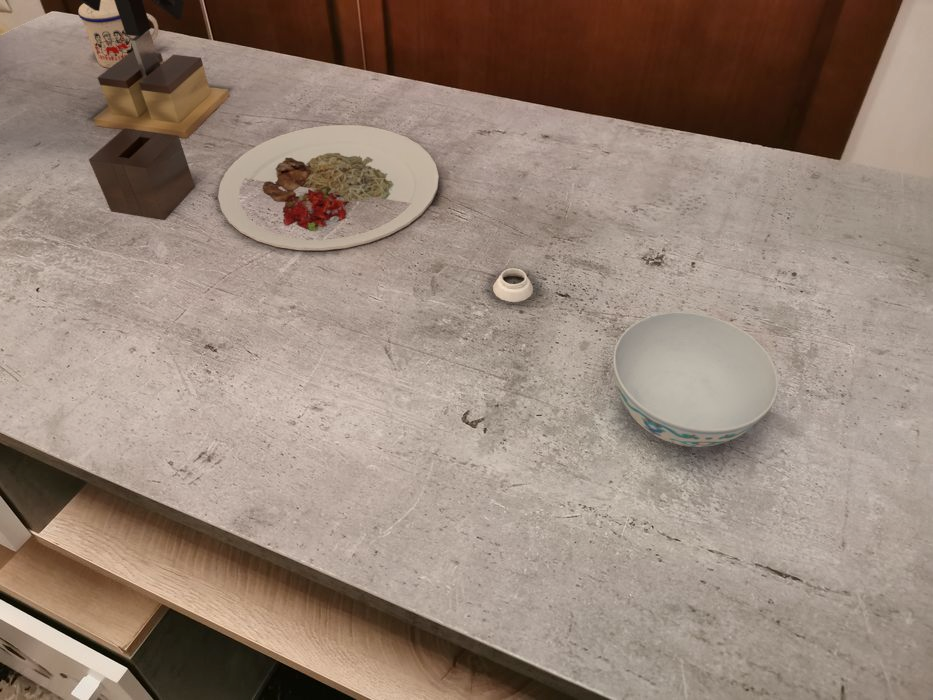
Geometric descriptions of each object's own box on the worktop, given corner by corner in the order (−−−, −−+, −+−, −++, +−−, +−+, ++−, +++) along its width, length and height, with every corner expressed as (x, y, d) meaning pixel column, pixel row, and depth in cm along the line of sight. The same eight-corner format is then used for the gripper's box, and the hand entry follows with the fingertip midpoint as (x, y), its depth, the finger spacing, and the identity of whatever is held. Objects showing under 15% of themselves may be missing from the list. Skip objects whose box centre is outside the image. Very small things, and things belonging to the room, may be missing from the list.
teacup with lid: (95, 72, 127) (68, 3, 119) (98, 51, 133) (73, -16, 125) (166, 64, 129) (145, -5, 121) (166, 43, 135) (146, -24, 127)
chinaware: (621, 348, 80) (632, 296, 74) (762, 385, 76) (785, 333, 71) (586, 452, 70) (596, 401, 65) (745, 501, 67) (770, 451, 61)
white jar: (491, 281, 88) (491, 309, 85) (491, 262, 86) (492, 290, 82) (532, 281, 88) (534, 310, 84) (534, 262, 86) (536, 290, 82)
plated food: (414, 124, 114) (412, 104, 112) (462, 237, 94) (462, 216, 92) (218, 152, 109) (212, 131, 106) (225, 278, 89) (218, 256, 86)
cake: (95, 125, 114) (77, 82, 109) (144, 85, 124) (129, 43, 119) (186, 138, 112) (172, 94, 106) (229, 96, 121) (218, 53, 116)
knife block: (113, 218, 97) (88, 159, 91) (146, 185, 103) (124, 127, 96) (167, 227, 96) (145, 168, 89) (197, 193, 101) (178, 135, 95)
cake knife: (149, 108, 116) (104, -21, 102) (162, 97, 118) (120, -31, 104) (162, 110, 115) (119, -20, 101) (175, 98, 118) (135, -30, 104)
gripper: (-64, -53, 89) (61, 22, 110) (116, -36, 85) (211, 39, 106) (-55, -114, 89) (69, -27, 110) (126, -100, 85) (219, -12, 106)
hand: (138, 6), depth 108 cm, fingers open, 13 cm apart
